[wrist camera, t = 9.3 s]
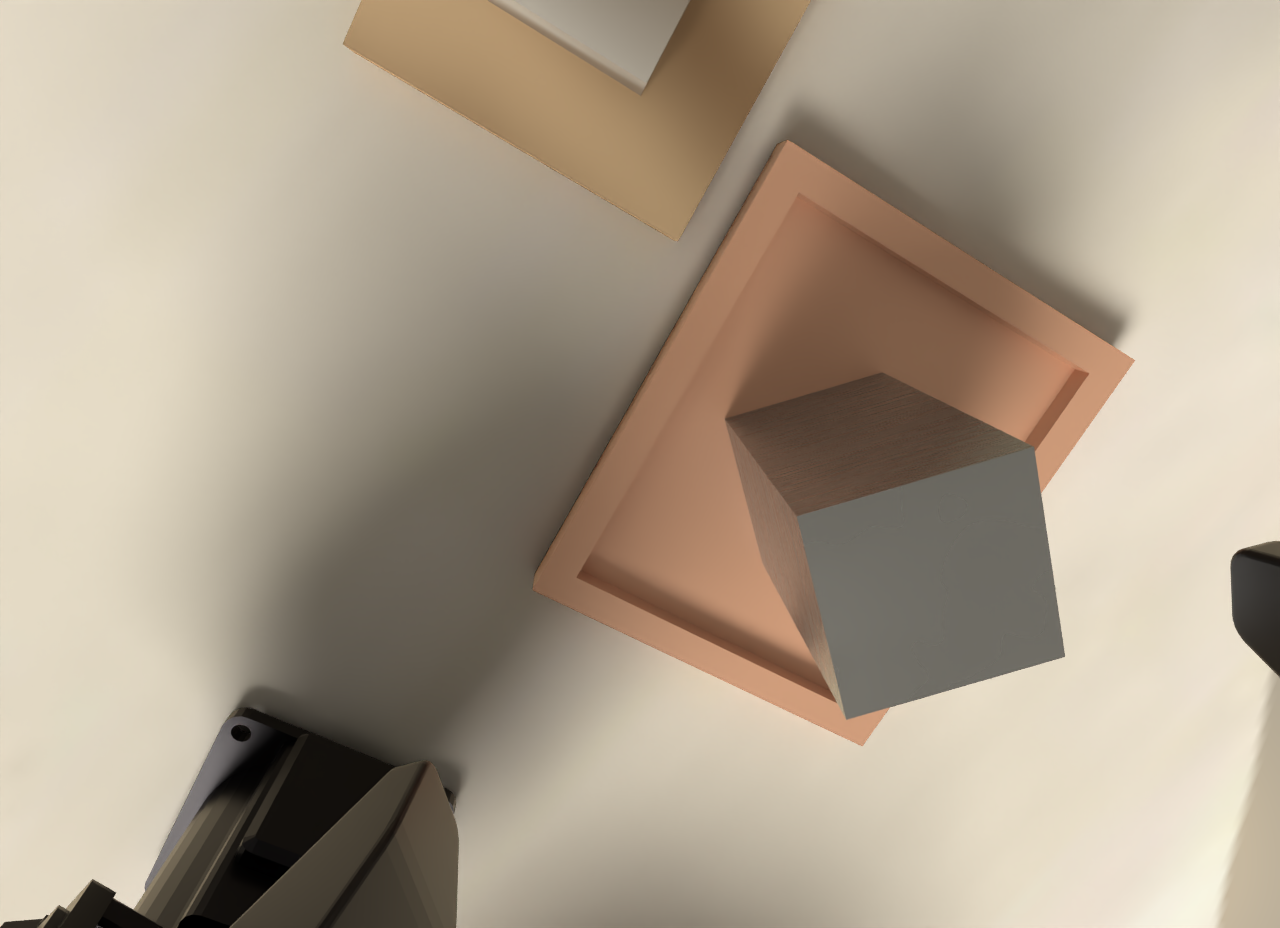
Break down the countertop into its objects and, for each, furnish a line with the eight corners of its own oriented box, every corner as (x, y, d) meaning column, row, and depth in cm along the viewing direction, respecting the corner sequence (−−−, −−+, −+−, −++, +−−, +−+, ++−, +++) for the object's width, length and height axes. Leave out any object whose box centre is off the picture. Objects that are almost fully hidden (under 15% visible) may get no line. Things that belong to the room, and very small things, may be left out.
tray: (850, 724, 23) (862, 746, 22) (534, 573, 21) (532, 589, 20) (1109, 354, 21) (1135, 360, 20) (777, 143, 19) (787, 139, 18)
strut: (911, 519, 21) (1065, 656, 14) (762, 563, 21) (846, 719, 14) (882, 372, 20) (1033, 446, 13) (724, 418, 20) (796, 516, 13)
